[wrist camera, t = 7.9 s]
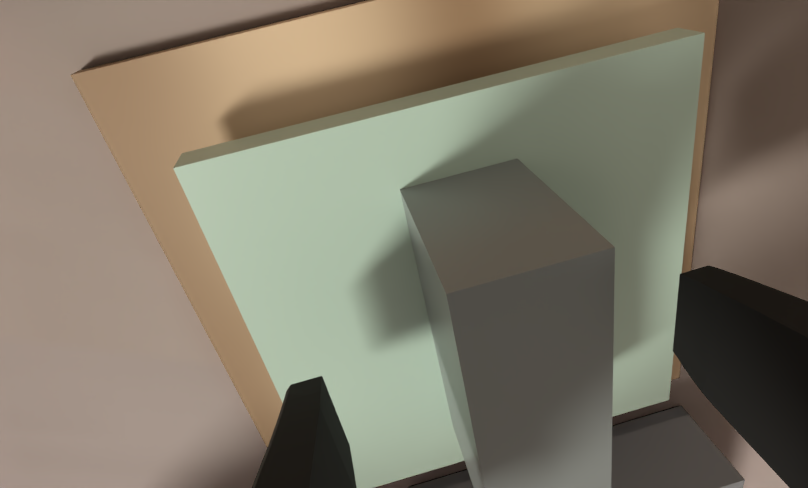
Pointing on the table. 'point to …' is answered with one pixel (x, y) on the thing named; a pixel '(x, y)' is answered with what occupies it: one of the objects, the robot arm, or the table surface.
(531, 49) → the cork mat
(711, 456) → the storage box
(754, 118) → the table surface
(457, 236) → the lid
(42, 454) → the table surface
